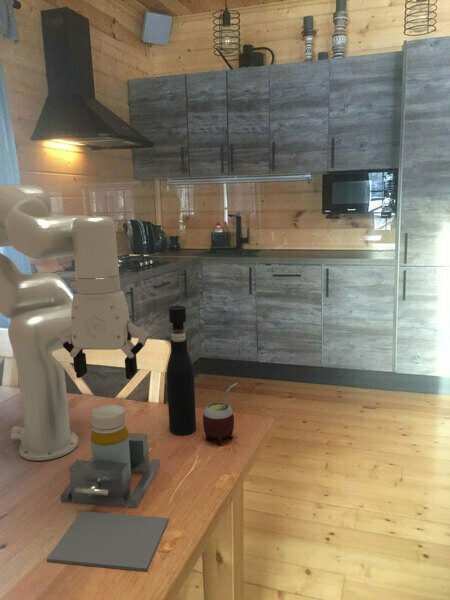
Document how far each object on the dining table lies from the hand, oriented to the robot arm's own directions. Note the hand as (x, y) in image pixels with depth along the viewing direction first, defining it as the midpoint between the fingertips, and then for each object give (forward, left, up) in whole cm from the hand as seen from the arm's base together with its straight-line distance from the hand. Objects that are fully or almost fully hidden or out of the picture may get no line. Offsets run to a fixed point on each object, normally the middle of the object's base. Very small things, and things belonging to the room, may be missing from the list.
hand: (106, 376), depth 93 cm
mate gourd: (+18, +20, -22) cm, 35 cm away
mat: (+6, -16, -22) cm, 28 cm away
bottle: (0, 0, -22) cm, 22 cm away
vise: (0, -1, -22) cm, 22 cm away
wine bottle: (+8, +24, -22) cm, 34 cm away
